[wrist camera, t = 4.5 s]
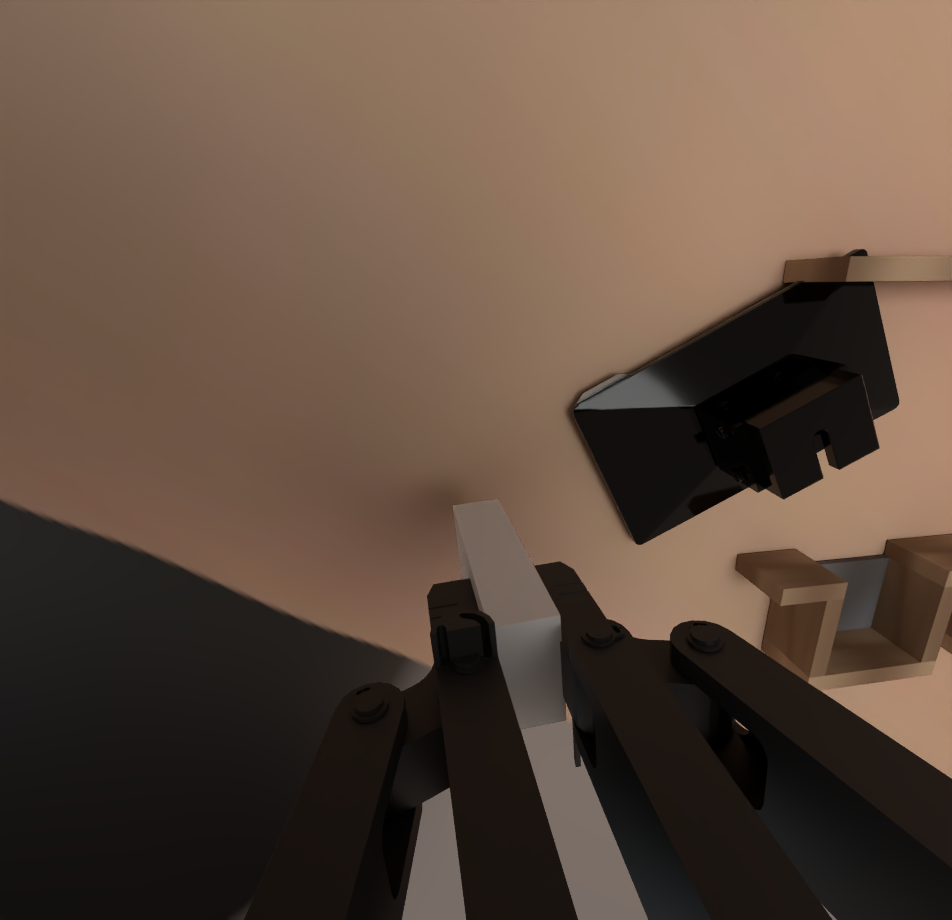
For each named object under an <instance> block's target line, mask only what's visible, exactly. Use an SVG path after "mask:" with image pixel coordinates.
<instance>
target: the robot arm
mask: <svg viewBox="0 0 952 920" xmlns="http://www.w3.org/2000/svg"><path fill="white" fill-rule="evenodd" d="M453 513H454V521H455V529H456V537H457V546H458V554H459V562H460V570H461V578H462V580H456V581H451V582H445V583H439V584H433V586H432V588H431V590H430V592H429V594H428V595H427V600H428V608H429V616H430V624H431V632H430V637H431V644H432V651H433V657H434V665H433V667H432V669H431V671H430V672H429V674H428V675H427V676H426V677H425V678H424V679H423V680H421V681H420V682H419V683H417V684H416V685H414V686H412V687H410V688H408V689H406V690H404V691H400V689H399V688H397V687H395V686H393V685H392V684H388V683H380V682H378V683H372V684H365V685H363V686H361V687H359V688H356V689H354V690H352V691H351V692H350V693H349V694H347V695H346V696H345V697H344V698H343V699H342V700H341V702H340V703H339V705H338V706H337V707H336V710H335V712H334V714H333V716H332V718H331V721H330V723H329V725H328V728H327V730H326V732H325V735H324V737H323V739H322V742H321V744H320V746H319V749H318V751H317V753H316V755H315V758H314V760H313V762H312V764H311V767H310V769H309V772H308V774H307V776H306V778H305V781H304V783H303V785H302V788H301V790H300V793H299V795H298V797H297V799H296V801H295V804H294V806H293V808H292V811H291V813H290V815H289V817H288V820H287V822H286V824H285V827H284V829H283V831H282V834H281V836H280V838H279V840H278V843H277V845H276V847H275V850H274V852H273V854H272V857H271V859H270V861H269V864H268V866H267V868H266V870H265V873H264V875H263V877H262V880H261V882H260V884H259V887H258V889H257V891H256V893H255V896H254V898H253V900H252V903H251V905H250V907H249V910H248V912H247V914H246V916H245V919H244V920H402V916H403V910H404V905H405V900H406V894H407V889H408V884H409V878H410V873H411V867H412V862H413V857H414V851H415V846H416V841H417V836H418V830H419V825H420V819H421V814H422V803H423V802H424V801H426V800H428V799H430V798H432V797H433V796H435V795H437V794H439V793H440V792H442V791H444V790H446V789H448V788H449V787H450V792H451V800H452V808H453V816H454V824H455V832H456V840H457V848H458V857H459V865H460V873H461V880H462V889H463V897H464V905H465V913H466V920H578V918H577V915H576V911H575V908H574V905H573V902H572V898H571V895H570V892H569V888H568V885H567V882H566V878H565V875H564V872H563V869H562V865H561V862H560V859H559V856H558V852H557V849H556V845H555V842H554V839H553V835H552V832H551V829H550V826H549V822H548V819H547V816H546V812H545V809H544V806H543V802H542V799H541V796H540V793H539V789H538V786H537V783H536V779H535V776H534V773H533V770H532V766H531V763H530V760H529V756H528V753H527V750H526V746H525V744H524V740H523V736H522V733H521V729H526V728H530V727H535V726H540V725H545V724H550V723H555V722H559V721H565V720H566V705H565V702H566V704H567V706H568V709H569V711H570V713H571V716H572V724H573V740H574V741H573V743H574V759H575V765H576V767H579V766H581V760H580V755H581V757H582V759H583V762H584V764H585V767H586V769H587V771H588V774H589V776H590V779H591V781H592V784H593V786H594V789H595V791H596V793H597V796H598V798H599V801H600V803H601V806H602V808H603V810H604V813H605V815H606V818H607V820H608V823H609V825H610V828H611V830H612V832H613V835H614V837H615V840H616V842H617V845H618V847H619V849H620V852H621V854H622V857H623V859H624V862H625V864H626V866H627V869H628V871H629V874H630V876H631V879H632V881H633V883H634V886H635V888H636V891H637V893H638V896H639V898H640V900H641V903H642V905H643V908H644V910H645V912H646V915H647V917H648V920H832V919H831V917H830V916H829V914H828V913H827V912H826V910H825V909H824V907H825V908H826V909H827V910H828V911H829V912H830V913H831V914H832V915H833V916H834V917H835V918H836V919H837V920H952V779H951V778H950V777H948V776H947V775H945V774H944V773H942V772H941V771H939V770H938V769H936V768H935V767H933V766H932V765H930V764H929V763H927V762H926V761H924V760H923V759H921V758H920V757H918V756H917V755H915V754H914V753H912V752H911V751H909V750H908V749H906V748H905V747H903V746H902V745H900V744H899V743H897V742H896V741H894V740H893V739H891V738H890V737H888V736H887V735H885V734H884V733H882V732H881V731H879V730H878V729H877V728H875V727H874V726H872V725H871V724H869V723H868V722H866V721H865V720H863V719H862V718H860V717H859V716H857V715H856V714H854V713H853V712H851V711H850V710H848V709H847V708H845V707H844V706H842V705H841V704H839V703H838V702H836V701H835V700H833V699H832V698H830V697H829V696H827V695H826V694H824V693H823V692H821V691H820V690H818V689H817V688H815V687H814V686H812V685H811V684H809V683H808V682H806V681H805V680H803V679H802V678H800V677H799V676H797V675H796V674H794V673H793V672H791V671H790V670H788V669H787V668H785V667H784V666H782V665H781V664H779V663H778V662H776V661H775V660H773V659H772V658H770V657H769V656H767V655H766V654H764V653H763V652H761V651H760V650H758V649H757V648H755V647H754V646H752V645H751V644H749V643H748V642H746V641H745V640H743V639H742V638H740V637H739V636H737V635H736V634H735V633H733V632H732V631H730V630H728V629H726V628H724V627H722V626H720V625H718V624H715V623H711V622H707V621H688V622H683V623H680V624H679V625H677V626H676V627H674V628H673V630H672V632H671V634H670V641H667V640H646V639H638V638H634V637H632V635H631V634H630V632H629V631H628V630H627V629H626V628H625V627H624V626H623V625H621V624H619V623H617V622H615V621H612V620H608V619H606V617H605V616H604V614H603V613H602V611H601V610H600V608H599V607H598V605H597V604H596V602H595V601H594V599H593V598H592V596H591V595H590V593H589V592H588V591H587V589H586V587H585V586H584V584H583V583H582V582H581V580H580V578H579V577H578V575H577V574H576V572H575V571H574V569H572V568H570V567H569V566H567V565H565V564H564V563H562V562H554V563H548V564H542V565H536V566H534V565H533V563H532V561H531V559H530V557H529V556H528V554H527V552H526V550H525V548H524V546H523V544H522V542H521V540H520V539H519V537H518V535H517V533H516V531H515V529H514V527H513V525H512V524H511V522H510V520H509V518H508V516H507V514H506V512H505V510H504V509H503V507H502V505H501V503H500V501H499V499H493V500H486V501H480V502H473V503H467V504H460V505H454V506H453ZM735 719H736V720H737V721H738V722H739V723H741V724H742V725H743V726H744V727H745V728H746V729H748V730H749V731H748V730H746V729H744V728H743V727H741V726H740V725H739V724H738V723H737V722H736V721H735ZM822 905H823V906H824V907H823V906H822Z"/></svg>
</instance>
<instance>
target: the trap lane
mask: <svg viewBox="0 0 952 920" xmlns="http://www.w3.org/2000/svg"><path fill="white" fill-rule="evenodd" d="M946 280H952V256H848V257H833V258H818V259H803V260H788V261H787V262H786V268H785V274H784V280H783V282H797V281H804V282H857V281H946ZM736 570H737V571H738V572H739V573H740V574H742V575H743V576H744V577H745V578H747V579H748V580H749V581H750V582H751V583H753V584H754V585H755V586H756V587H758V588H759V589H760V590H761V591H763V592H764V593H765V594H766V595H767V596H769V597H770V598H771V602H770V608H769V613H768V618H767V623H766V628H765V633H764V639H763V644H762V650H763V651H764V652H765V653H766V654H767V655H768V656H769V657H770V658H772V659H773V660H775V661H776V662H778V663H779V664H781V665H782V666H784V667H785V668H787V669H788V670H790V671H791V672H793V673H794V674H796V675H797V676H799V677H800V678H802V679H803V680H805V681H806V682H808V683H809V684H811V685H812V686H814V687H815V688H817V689H818V690H827V689H834V688H841V687H848V686H855V685H862V684H869V683H877V682H884V681H891V680H898V679H905V678H912V677H919V676H926V675H931V674H932V671H933V668H934V665H935V662H936V659H937V656H938V653H939V650H940V647H942V648H943V649H945V650H946V651H948V652H950V653H951V654H952V534H947V535H937V536H926V537H916V538H905V539H895V540H888V541H887V545H886V548H885V552H884V555H876V556H866V557H856V558H846V559H836V560H826V561H816V562H815V561H814V560H812V559H811V558H809V557H808V556H806V555H805V554H803V553H801V552H800V551H798V550H797V549H789V550H779V551H768V552H758V553H747V554H738V558H737V564H736Z"/></svg>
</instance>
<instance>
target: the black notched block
mask: <svg viewBox="0 0 952 920" xmlns="http://www.w3.org/2000/svg"><path fill="white" fill-rule="evenodd" d="M848 256H868V254H867V251H866V250H864V249H856V250H853V251H851V252H849V253H847V254H845V255H844V256H842V257H848ZM898 405H899V397H898V393H897V388H896V383H895V379H894V374H893V370H892V365H891V360H890V356H889V351H888V347H887V342H886V337H885V333H884V328H883V323H882V319H881V314H880V310H879V305H878V300H877V296H876V291H875V287H874V282H873V281H857V282H804V281H797V282H795V283H793V284H791V285H790V286H788V287H786V288H784V289H783V290H781V291H779V292H777V293H775V294H774V295H772V296H770V297H768V298H766V299H765V300H763V301H761V302H759V303H757V304H756V305H754V306H752V307H750V308H748V309H747V310H745V311H743V312H741V313H739V314H738V315H736V316H734V317H732V318H730V319H729V320H727V321H725V322H723V323H721V324H720V325H718V326H716V327H714V328H712V329H711V330H709V331H707V332H705V333H704V334H702V335H700V336H698V337H696V338H695V339H693V340H691V341H689V342H687V343H686V344H684V345H682V346H680V347H678V348H677V349H675V350H673V351H671V352H669V353H668V354H666V355H664V356H662V357H660V358H659V359H657V360H655V361H653V362H651V363H650V364H648V365H646V366H644V367H642V368H641V369H639V370H637V371H635V372H633V373H632V374H616V375H615V376H613V377H611V378H609V379H608V380H606V381H604V382H602V383H600V384H599V385H597V386H595V387H593V388H591V389H590V390H588V391H586V392H584V393H583V394H582V395H581V397H580V398H579V400H578V401H577V403H576V404H575V405H574V406H573V407H572V409H571V413H572V416H573V418H574V420H575V422H576V424H577V426H578V428H579V430H580V432H581V434H582V436H583V438H584V440H585V443H586V445H587V447H588V449H589V451H590V453H591V455H592V457H593V459H594V461H595V463H596V465H597V467H598V469H599V471H600V473H601V476H602V478H603V480H604V482H605V484H606V486H607V488H608V490H609V492H610V494H611V496H612V498H613V500H614V502H615V504H616V506H617V509H618V511H619V513H620V515H621V517H622V519H623V521H624V523H625V525H626V527H627V529H628V531H629V533H630V535H631V537H632V539H633V541H634V542H635V543H636V544H638V545H641V544H644V543H646V542H647V541H649V540H651V539H653V538H655V537H657V536H659V535H660V534H662V533H664V532H666V531H668V530H670V529H672V528H673V527H675V526H677V525H679V524H681V523H683V522H685V521H687V520H688V519H690V518H692V517H694V516H696V515H698V514H700V513H701V512H703V511H705V510H707V509H709V508H711V507H713V506H714V505H716V504H718V503H720V502H722V501H724V500H726V499H728V498H729V497H731V496H733V495H735V494H737V493H739V492H741V491H742V490H744V489H746V488H748V487H749V488H751V489H753V490H754V491H756V492H760V491H762V490H764V489H767V490H768V491H770V492H772V493H774V494H775V495H777V496H779V497H780V498H782V499H785V498H787V497H789V496H791V495H793V494H795V493H797V492H799V491H801V490H802V489H804V488H806V487H808V486H810V485H812V484H814V483H816V482H817V481H819V480H821V479H823V474H822V471H821V467H820V464H819V460H818V457H817V454H816V453H818V452H819V451H821V450H823V449H825V452H826V456H827V459H828V463H829V465H830V466H832V467H834V468H837V469H839V470H840V469H842V468H844V467H846V466H847V465H849V464H851V463H853V462H855V461H857V460H859V459H861V458H862V457H864V456H866V455H868V454H870V453H872V452H874V451H876V450H877V449H879V443H878V439H877V435H876V430H875V426H874V422H873V420H875V419H877V418H878V417H880V416H882V415H884V414H886V413H888V412H890V411H892V410H893V409H895V408H896V407H897V406H898Z"/></svg>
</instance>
